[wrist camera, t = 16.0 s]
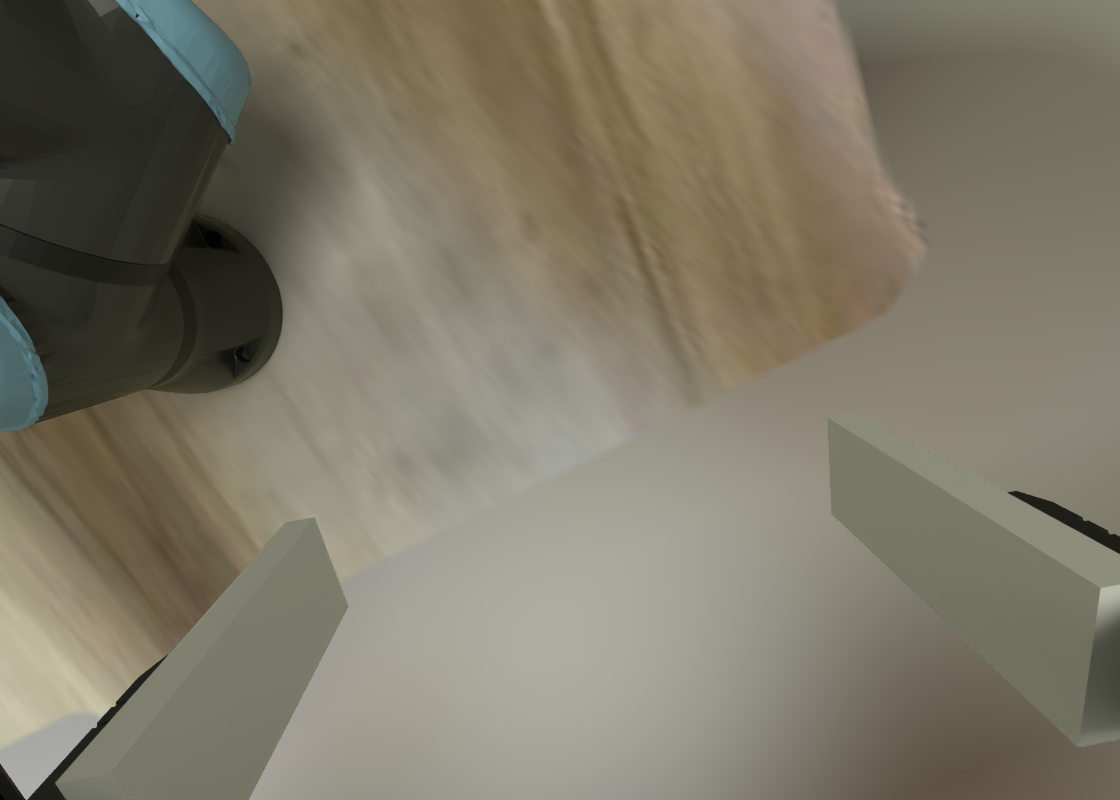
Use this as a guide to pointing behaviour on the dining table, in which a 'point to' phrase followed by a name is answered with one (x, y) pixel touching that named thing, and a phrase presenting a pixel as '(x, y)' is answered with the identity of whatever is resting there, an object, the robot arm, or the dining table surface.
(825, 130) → the dining table surface
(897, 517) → the robot arm
